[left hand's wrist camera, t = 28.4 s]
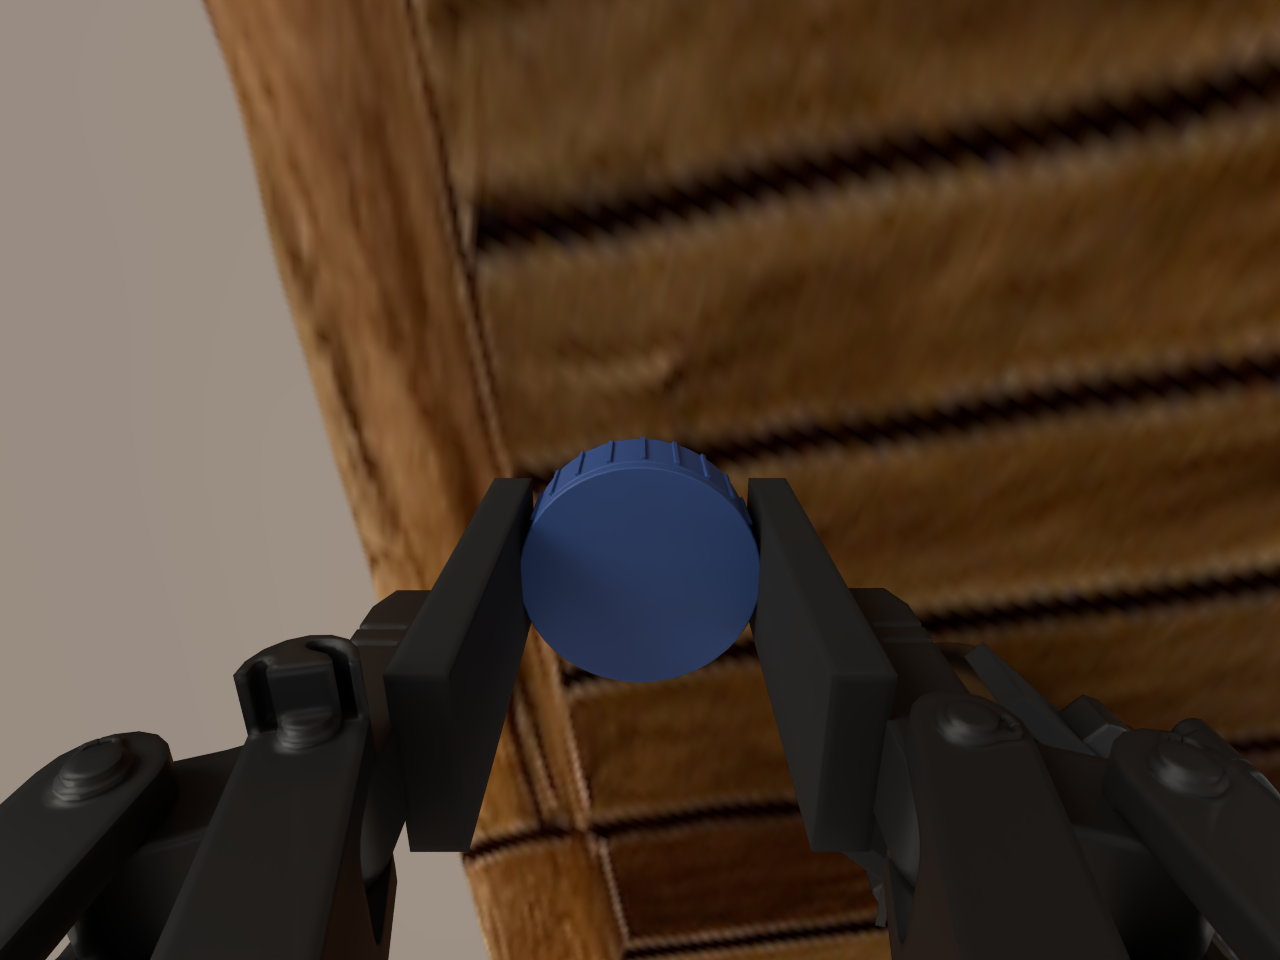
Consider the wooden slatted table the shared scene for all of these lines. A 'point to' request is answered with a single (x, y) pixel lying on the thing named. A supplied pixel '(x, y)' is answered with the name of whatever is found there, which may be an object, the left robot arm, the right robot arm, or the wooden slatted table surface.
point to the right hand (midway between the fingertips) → (907, 742)
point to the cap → (640, 562)
